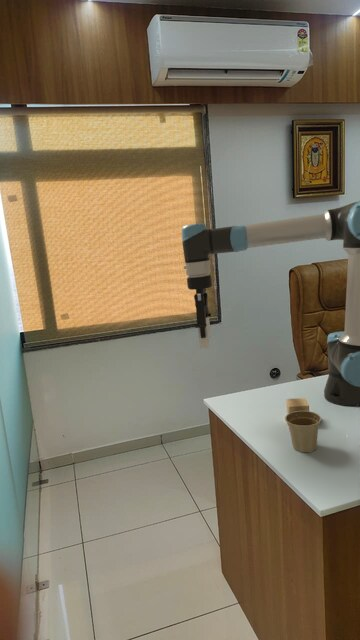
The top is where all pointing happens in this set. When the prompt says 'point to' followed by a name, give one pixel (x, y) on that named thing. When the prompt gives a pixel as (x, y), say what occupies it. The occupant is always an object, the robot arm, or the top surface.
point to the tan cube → (297, 405)
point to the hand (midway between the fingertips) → (205, 342)
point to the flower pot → (303, 429)
